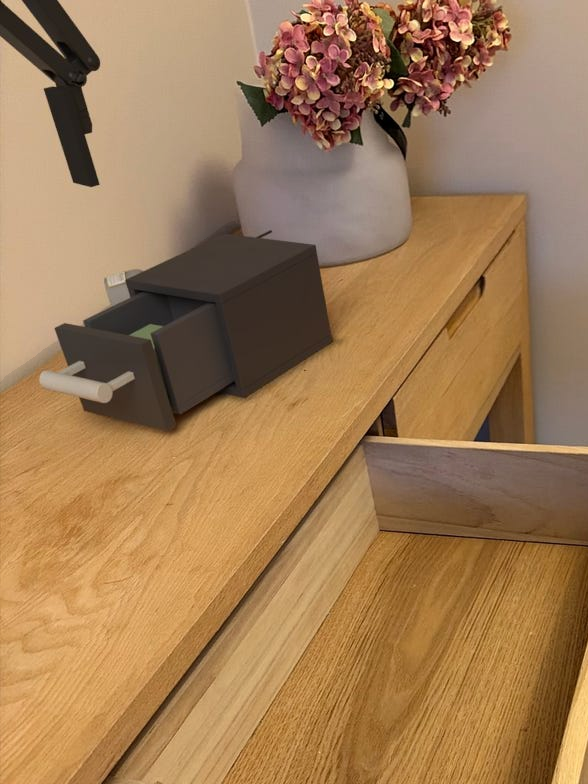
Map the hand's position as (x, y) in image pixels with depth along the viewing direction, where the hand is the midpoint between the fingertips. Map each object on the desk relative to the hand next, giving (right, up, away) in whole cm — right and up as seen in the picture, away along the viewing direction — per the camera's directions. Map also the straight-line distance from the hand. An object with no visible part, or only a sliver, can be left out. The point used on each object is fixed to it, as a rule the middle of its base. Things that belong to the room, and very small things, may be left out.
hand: (4, 208), depth 72 cm
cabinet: (+12, -4, +26) cm, 28 cm away
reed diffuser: (+4, +5, +38) cm, 38 cm away
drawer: (+6, -10, +17) cm, 21 cm away
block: (+6, -8, +18) cm, 20 cm away
